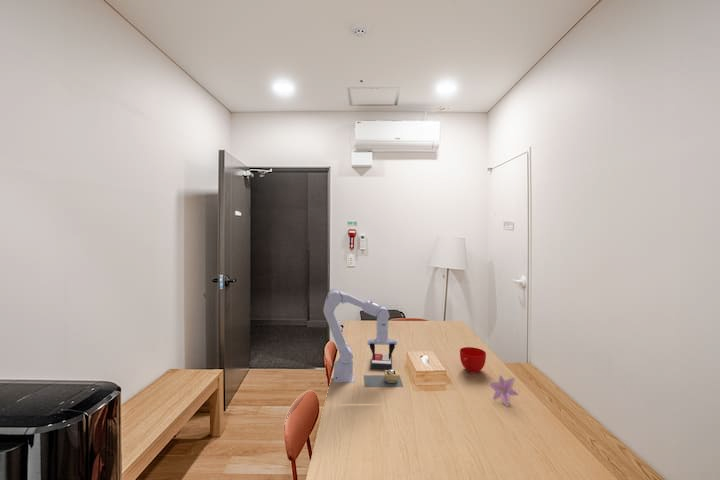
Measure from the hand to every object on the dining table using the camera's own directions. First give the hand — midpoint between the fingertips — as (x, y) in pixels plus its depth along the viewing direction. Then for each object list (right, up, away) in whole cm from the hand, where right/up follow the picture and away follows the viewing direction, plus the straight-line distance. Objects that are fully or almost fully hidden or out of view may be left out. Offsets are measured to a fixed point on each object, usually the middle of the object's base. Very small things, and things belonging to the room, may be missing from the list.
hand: (381, 358), depth 158 cm
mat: (0, -9, -4) cm, 10 cm away
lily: (+51, -11, -20) cm, 56 cm away
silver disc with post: (+4, -9, -4) cm, 11 cm away
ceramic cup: (+47, -10, +8) cm, 49 cm away
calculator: (+1, -10, +16) cm, 18 cm away
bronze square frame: (+4, -8, -4) cm, 10 cm away
